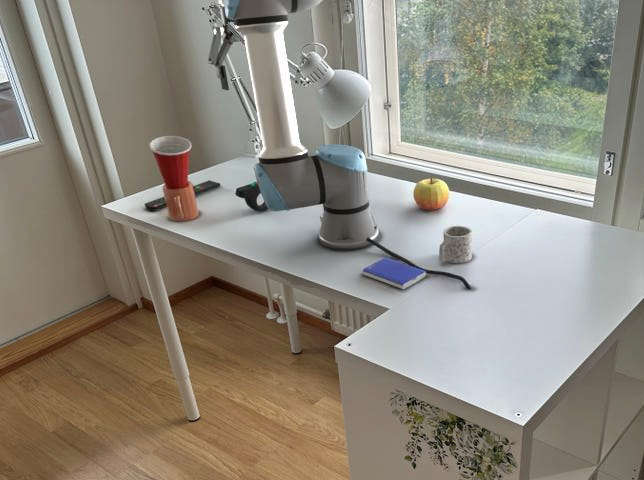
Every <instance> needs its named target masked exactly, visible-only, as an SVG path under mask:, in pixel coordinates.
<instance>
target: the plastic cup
mask: <svg viewBox="0 0 644 480" xmlns="http://www.w3.org/2000/svg"><path fill="white" fill-rule="evenodd" d="M148 144H149V149H150V150H151V152H152V154H153V156H154V158H155V161H156V164H157V167H158V169H159V171H160V175H161V177H162V180H163V183H164V185H166V187H167V188H169V189H179V188H183V187H186V186H187V183H188V181H189V165H190V164H189V162H190V161H189V159H190V152H191V148H192V146H193V145H192V142H191V141H190V140H189V139H187V138H185V137H183V136H177V135H164V136H158V137H155V138H154V139H152V140H150V142H149V143H148Z"/></svg>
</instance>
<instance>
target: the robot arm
mask: <svg viewBox="0 0 644 480" xmlns="http://www.w3.org/2000/svg"><path fill="white" fill-rule="evenodd" d="M323 1H324V0H218V4H219V5H220V7H219V12H220V18H221V22H222V26H215V25H214V26H213V27H212V39H211V43H210V44H211V45H210V47H209V52H208V58H207V63H208V64H209V65H211V66H212V65H213V66H214V67H215V72H216V77H217V78H218V79H219V80H220V85H221V89H222V90H224V91H230V87H229V86H230V85H229V81H228V76H227V71H226V70H227V69H226V66H225V65H223V63H224V61H225V60H226V58H227V56H228V53H229V51H230V48H231V47H232V45H233V44H234V43H239V42H241V41H240V39H239V38H237V37H236V36H235V35H234V34H233V33H232V32H231V31H230V30H229V28H230V27H229V28H228V26H229V25H226V24H228V22H229V23H230V22H234V24H235V28H236V30H237V31H238V32H241V34H242V35H243V36H244V40H245V41H244V45H245V51H246V57H247V63H248V68H249V74H250V81H251V85H252V92H253V97H254V103H255V108H256V114H257V119H258V125H259V130H260V131H259V132H260V135H261V136H260V137H261V142H262V149H261V150H260V152H258V155H257V157H258V162H256V163H255V164H253V171H254V176H255V180H256V181H257V183H258V186H259V189H260V191H261V194H260V195H261V197H262V199H263V202H265V204H266V206H267V207H268V210H269V211H272V212H282V211H287V212H289V211H291V210H295V209H301V208H307V207H314V206H320V205H322V209H323V213H322V216H319V219H320V228H319V232H318V236H319V242H320V243H321V245H322V246H324V247H327V248H329V249H333V250H341V251H346V250H349V251H350V250H357V249H362V248H365V247H368V246H371V245H373V246H375V247H377V248H378V249H380V250H381V251H382V252H384V253H386V254H388V255H390V256H391V257H393V258H395V259H396V260H399V261H401V262H403V263H404V264H406V265H409V266H411V267H414V268H417V269H420V270H423V271H426V275H435V276H444V277H448V278H452V279H455V280H459V281H460V282H461V283H462V284H463V285H464V286H465V288H466V290H472V287H471V285H470V284H469V283H468V281H467V280H466V278H464V277H463V276H461V275H458V274H455V273H451V272H448V271H441V270H432V269H426V268H423V267H420V266H419V265H416V264H415V263H414V262H413V261H411V260H409V259H407V258H405V257H403V256H401V255H399V254H397V253H395V252H394V251H391V250H390V249H389V248H386V247H385V246H383V245H382V244H380V243H379V242H377V241H378V240H379V237H380V233H379V230H380V229H379V226H378V223H377V222H376V219H375V217H374V214H373V212H372V210H371V207H370V195H369V181H368V166H367V160H366V156H365V153H364V152H363V151H362V150H361V149H359V148H357V147H356V146H355V147H354V146H351V145H345V144H325V145H322V146H319V147H317V148H316V151H315V154H314V155H309V152H308V149H307V147H305V146H304V145H303V144H302V143H301V142H300V135H299V129H298V122H297V116H296V109H295V104H294V103H295V102H294V97H293V91H292V83H291V78H290V71H289V64H288V63H289V62H288V58H287V52H286V51H287V50H286V44H285V38H284V37H285V36H284V30H285V29H286V28H287V26H288V24H289V18H288V17H289V16H288V14H295V13H302V12H306V11H309V10H312V9H314V8H315V7H317V6H318V5H319V4H320V3H322V2H323ZM232 19H233V20H232ZM223 34H225V36H224V37H223V42H222V44H221V41H222V36H223Z"/></svg>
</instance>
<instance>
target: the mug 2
mask: <svg viewBox="0 0 644 480" xmlns="http://www.w3.org/2000/svg"><path fill="white" fill-rule="evenodd" d="M442 233H443V241H442V242H441V243H440V245H439V247H438V248H439V249H438V255H439V261H440V262H441V263H444V262H448V263H451V264H464V263H467V262H469V261H470V260H471V259H472V251H473V250H472V245H473V244H472V243H473V242H472V239H473V238H472V237H473V231H472V229H471V228H470V227H467V226H464V225H452V226H448V227H446V228H445V229H444V230H443V232H442Z"/></svg>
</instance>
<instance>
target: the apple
mask: <svg viewBox="0 0 644 480" xmlns="http://www.w3.org/2000/svg"><path fill="white" fill-rule="evenodd" d="M449 199H450V188H449V187H448V185H447V183H446V182H445V181H444V180H441V179H438V178H432V177H431V178H427V179H426V178H425V179H422V180H420V181H418V182H416V184H415V186H414V189H413V200H414V202H415V204H416V205H417V206H418V207H419V208H421V209H424V210H426V211H435V210H439V209H441V208H443V207H444V206H446V204H447V203H448V201H449Z"/></svg>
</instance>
